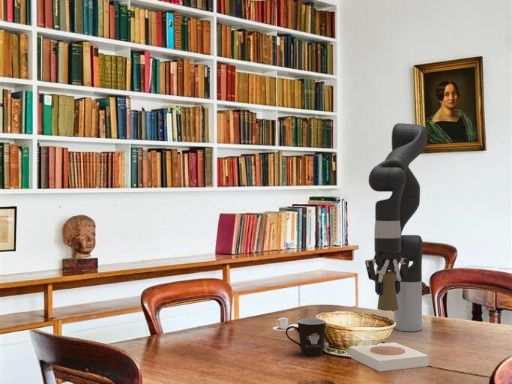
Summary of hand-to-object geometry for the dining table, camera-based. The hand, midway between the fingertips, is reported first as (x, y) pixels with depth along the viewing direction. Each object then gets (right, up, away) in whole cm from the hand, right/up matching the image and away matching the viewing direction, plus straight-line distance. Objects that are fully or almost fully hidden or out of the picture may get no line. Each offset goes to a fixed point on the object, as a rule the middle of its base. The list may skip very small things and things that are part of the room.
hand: (387, 293), depth 213 cm
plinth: (0, -20, 0) cm, 20 cm away
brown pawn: (0, -5, 0) cm, 5 cm away
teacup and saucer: (-27, -20, +44) cm, 55 cm away
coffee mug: (-23, -20, +10) cm, 32 cm away
